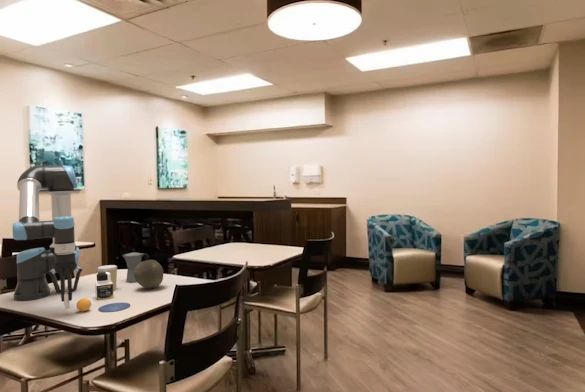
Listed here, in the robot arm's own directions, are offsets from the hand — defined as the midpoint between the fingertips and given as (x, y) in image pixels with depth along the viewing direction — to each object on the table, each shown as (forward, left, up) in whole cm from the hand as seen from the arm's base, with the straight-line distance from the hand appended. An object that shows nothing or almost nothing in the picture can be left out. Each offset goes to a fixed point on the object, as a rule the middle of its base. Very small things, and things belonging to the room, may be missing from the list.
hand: (67, 308), depth 168 cm
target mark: (+18, 0, -2) cm, 18 cm away
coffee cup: (+14, +35, -2) cm, 38 cm away
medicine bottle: (+13, +20, -2) cm, 24 cm away
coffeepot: (+28, +49, -2) cm, 57 cm away
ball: (+6, 0, +1) cm, 6 cm away
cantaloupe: (+34, +27, -2) cm, 44 cm away
